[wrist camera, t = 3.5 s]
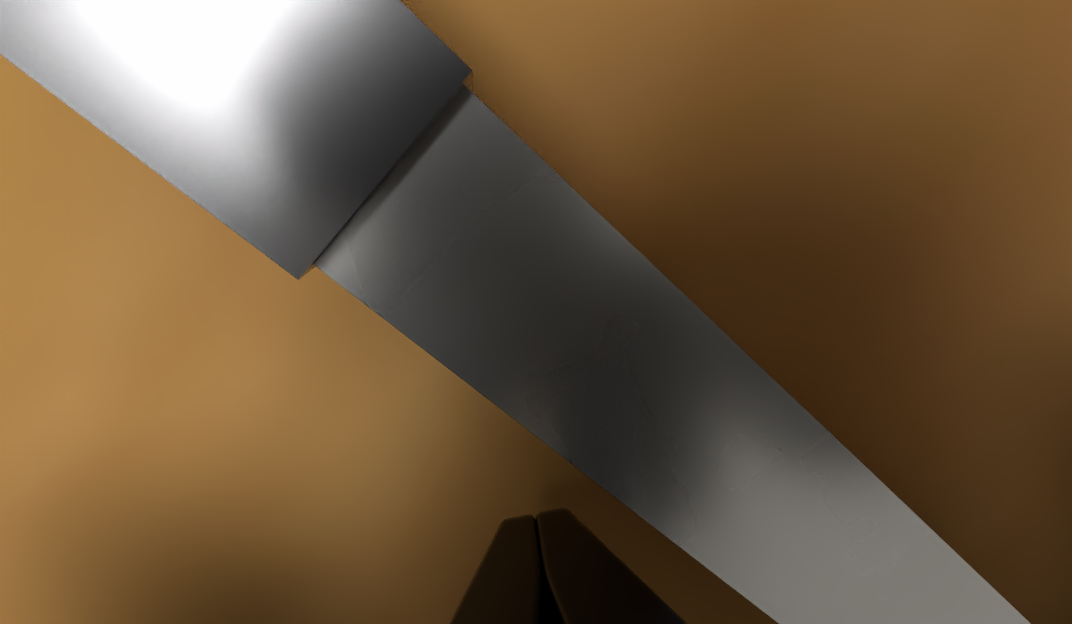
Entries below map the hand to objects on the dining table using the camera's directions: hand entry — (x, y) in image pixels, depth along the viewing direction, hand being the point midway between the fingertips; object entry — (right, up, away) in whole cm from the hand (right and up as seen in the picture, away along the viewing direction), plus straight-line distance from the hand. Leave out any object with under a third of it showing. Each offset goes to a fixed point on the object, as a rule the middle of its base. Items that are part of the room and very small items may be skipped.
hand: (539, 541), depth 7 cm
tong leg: (+2, +2, +1) cm, 3 cm away
